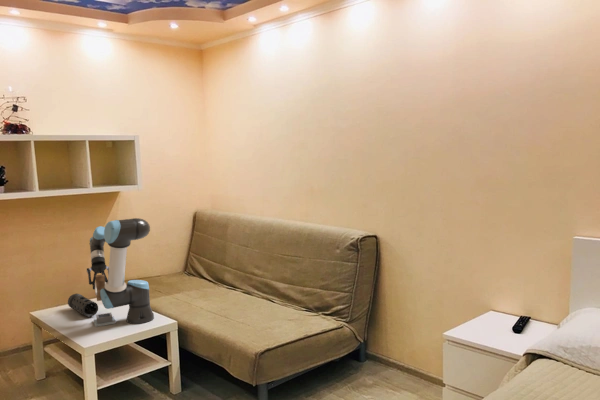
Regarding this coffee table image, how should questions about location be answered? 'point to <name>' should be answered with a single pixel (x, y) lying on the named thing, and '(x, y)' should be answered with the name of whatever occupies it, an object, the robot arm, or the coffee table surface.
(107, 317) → the socket stand
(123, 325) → the coffee table surface
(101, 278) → the walnut post
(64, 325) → the coffee table surface
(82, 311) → the muzzle brake
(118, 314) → the coffee table surface
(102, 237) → the robot arm
